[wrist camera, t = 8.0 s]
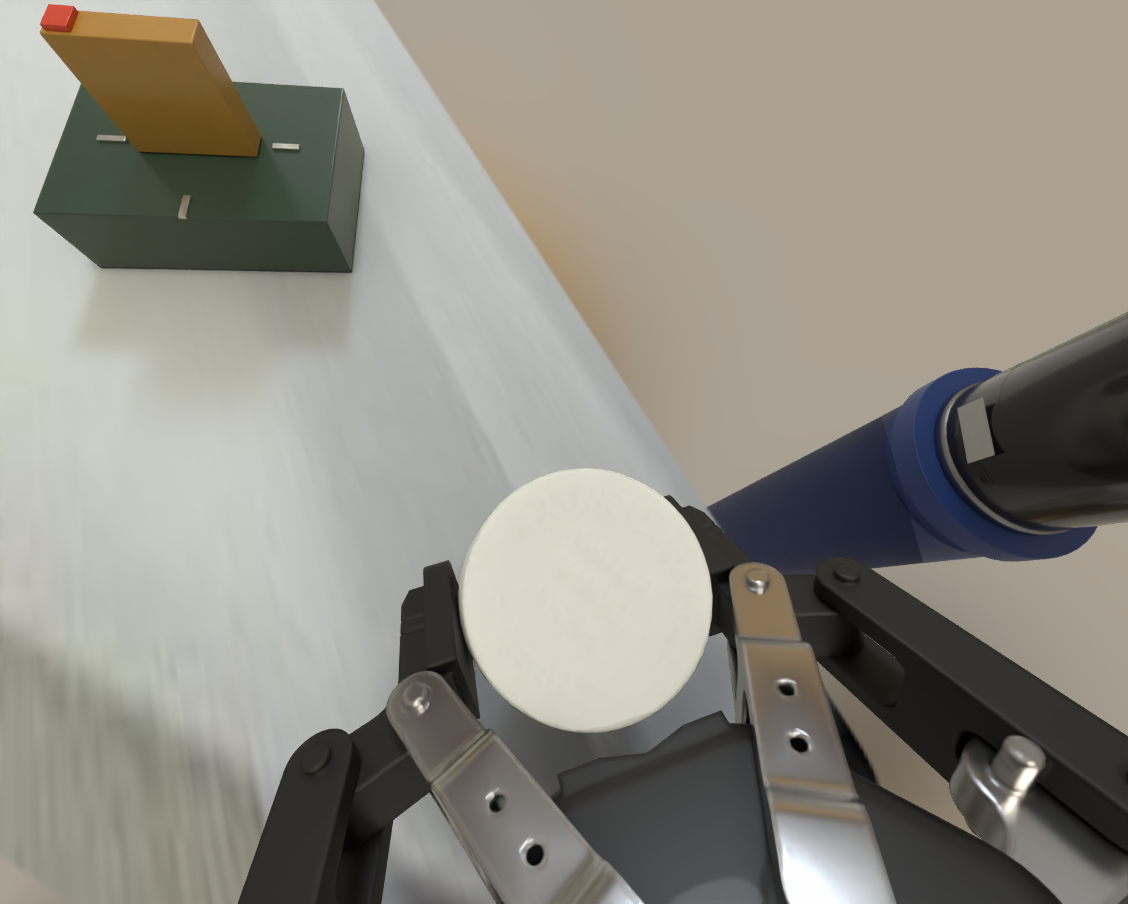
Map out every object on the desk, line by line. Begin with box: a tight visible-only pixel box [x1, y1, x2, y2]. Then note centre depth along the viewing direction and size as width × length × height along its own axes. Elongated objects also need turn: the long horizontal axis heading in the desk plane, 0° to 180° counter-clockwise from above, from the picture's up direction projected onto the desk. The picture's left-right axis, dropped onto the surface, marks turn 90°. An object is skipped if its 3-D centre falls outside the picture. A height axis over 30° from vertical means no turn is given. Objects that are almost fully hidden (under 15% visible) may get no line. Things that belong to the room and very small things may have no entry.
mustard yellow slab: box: [40, 4, 261, 157], centre depth 23 cm, size 6×2×6 cm, turn 93°
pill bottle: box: [458, 468, 713, 733], centre depth 15 cm, size 6×6×11 cm
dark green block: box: [33, 82, 364, 272], centre depth 27 cm, size 14×10×4 cm
